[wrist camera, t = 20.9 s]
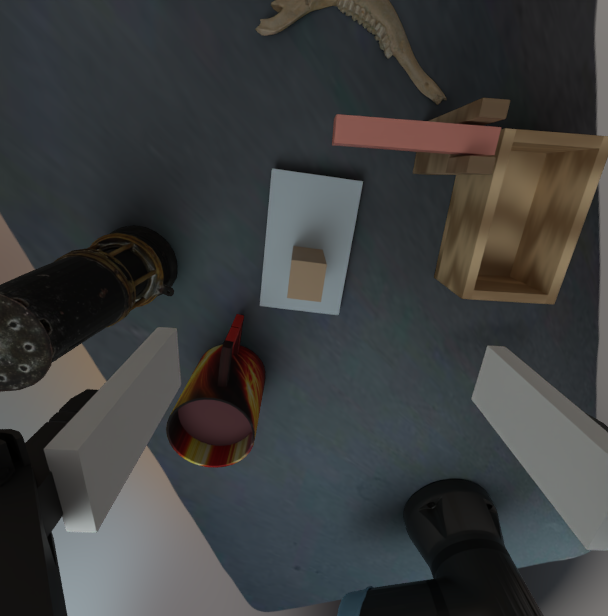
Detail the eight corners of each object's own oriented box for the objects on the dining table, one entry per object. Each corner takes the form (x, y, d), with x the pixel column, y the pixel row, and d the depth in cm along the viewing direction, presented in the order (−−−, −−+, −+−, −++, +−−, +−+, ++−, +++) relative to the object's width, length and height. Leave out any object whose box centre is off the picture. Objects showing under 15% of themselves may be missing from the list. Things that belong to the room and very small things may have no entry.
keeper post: (429, 174, 38) (491, 174, 26) (412, 173, 38) (466, 172, 26) (439, 125, 37) (510, 99, 24) (421, 124, 37) (483, 97, 24)
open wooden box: (510, 282, 43) (554, 304, 36) (433, 277, 43) (461, 298, 35) (552, 144, 37) (614, 136, 30) (464, 137, 37) (505, 128, 30)
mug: (244, 309, 44) (225, 354, 33) (273, 393, 49) (266, 458, 38) (175, 326, 45) (134, 375, 34) (211, 407, 50) (186, 474, 39)
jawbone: (281, -70, 31) (281, -88, 29) (475, 12, 34) (487, 1, 32) (257, 40, 34) (255, 30, 32) (440, 108, 37) (449, 103, 35)
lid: (336, 308, 45) (345, 340, 36) (261, 299, 44) (252, 329, 35) (359, 181, 39) (376, 182, 30) (273, 168, 38) (265, 167, 30)
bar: (481, 156, 29) (494, 155, 27) (331, 145, 29) (334, 143, 27) (488, 130, 28) (501, 127, 26) (334, 118, 28) (336, 114, 26)
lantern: (189, 285, 43) (-17, 489, 15) (124, 305, 44) (-182, 532, 16) (157, 215, 40) (-178, 310, 12) (88, 238, 41) (-374, 376, 13)
